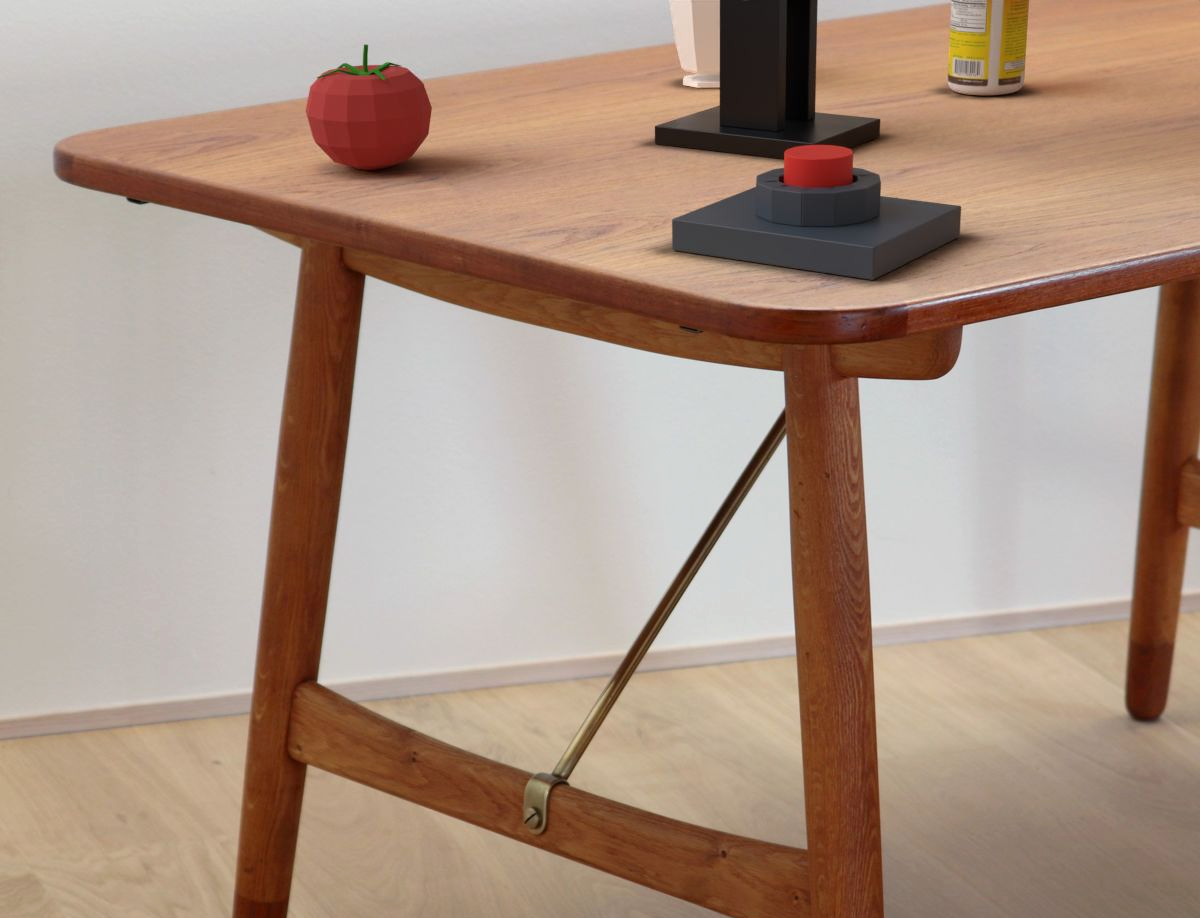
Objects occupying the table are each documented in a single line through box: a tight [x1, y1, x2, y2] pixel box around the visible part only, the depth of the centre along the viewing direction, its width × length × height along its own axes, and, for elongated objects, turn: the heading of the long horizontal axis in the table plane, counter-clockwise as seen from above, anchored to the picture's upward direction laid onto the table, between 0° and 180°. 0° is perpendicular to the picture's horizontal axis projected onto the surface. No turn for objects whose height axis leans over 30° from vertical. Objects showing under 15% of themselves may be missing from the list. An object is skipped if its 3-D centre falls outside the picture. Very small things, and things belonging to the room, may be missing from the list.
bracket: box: [654, 0, 881, 160], centre depth 125 cm, size 12×9×12 cm
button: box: [783, 145, 854, 188], centre depth 101 cm, size 4×4×2 cm
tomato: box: [305, 43, 433, 171], centre depth 122 cm, size 8×8×8 cm
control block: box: [671, 167, 962, 281], centre depth 102 cm, size 12×10×4 cm
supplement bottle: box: [947, 0, 1030, 97], centre depth 140 cm, size 6×6×10 cm
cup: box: [668, 0, 720, 89], centre depth 147 cm, size 7×10×8 cm
